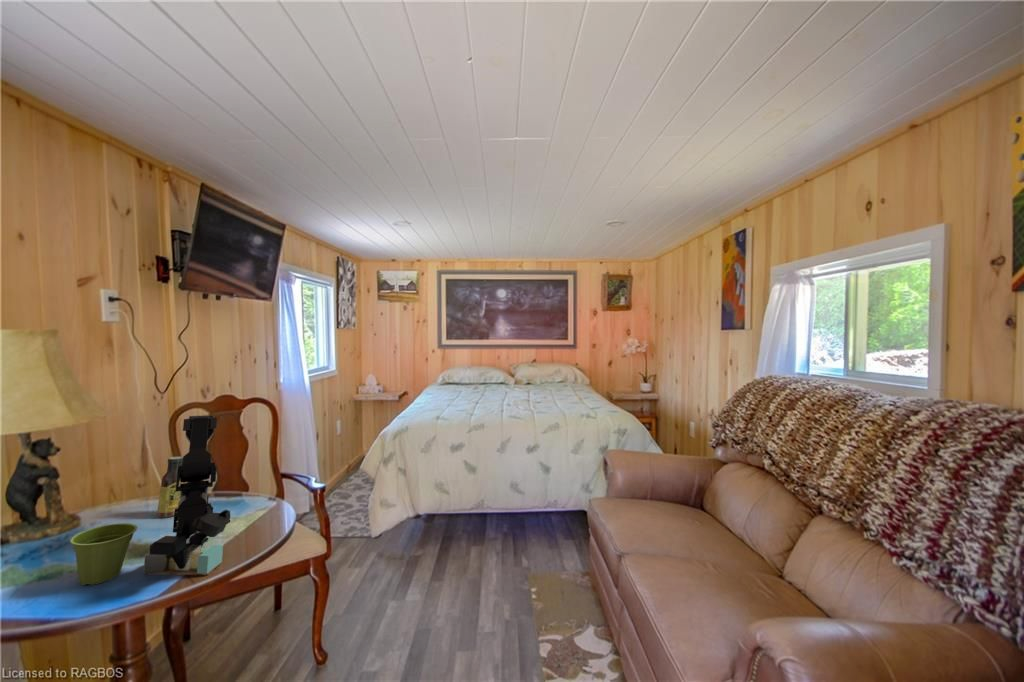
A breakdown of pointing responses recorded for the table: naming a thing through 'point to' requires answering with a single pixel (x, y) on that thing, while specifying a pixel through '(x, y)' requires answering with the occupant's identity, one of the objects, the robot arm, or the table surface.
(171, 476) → the sauce bottle
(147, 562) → the dark grey cube
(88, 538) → the plant pot
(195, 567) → the cream rectangular block
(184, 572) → the board
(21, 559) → the table surface
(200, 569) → the turquoise rectangular block
